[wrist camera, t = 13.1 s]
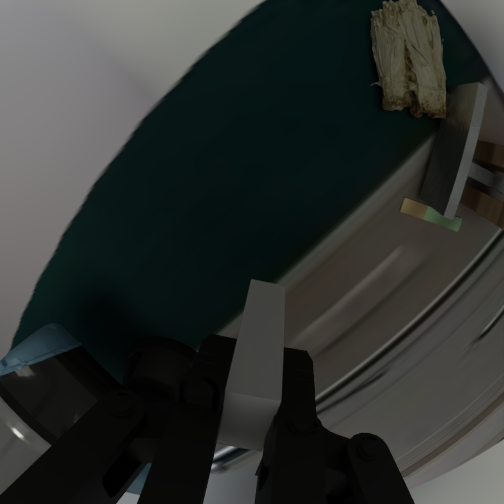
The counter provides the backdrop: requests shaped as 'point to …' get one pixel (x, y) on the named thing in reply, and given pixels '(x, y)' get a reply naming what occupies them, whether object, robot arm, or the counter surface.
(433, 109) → the mushroom
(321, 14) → the counter surface
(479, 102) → the plate
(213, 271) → the counter surface
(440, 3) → the counter surface
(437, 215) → the base
